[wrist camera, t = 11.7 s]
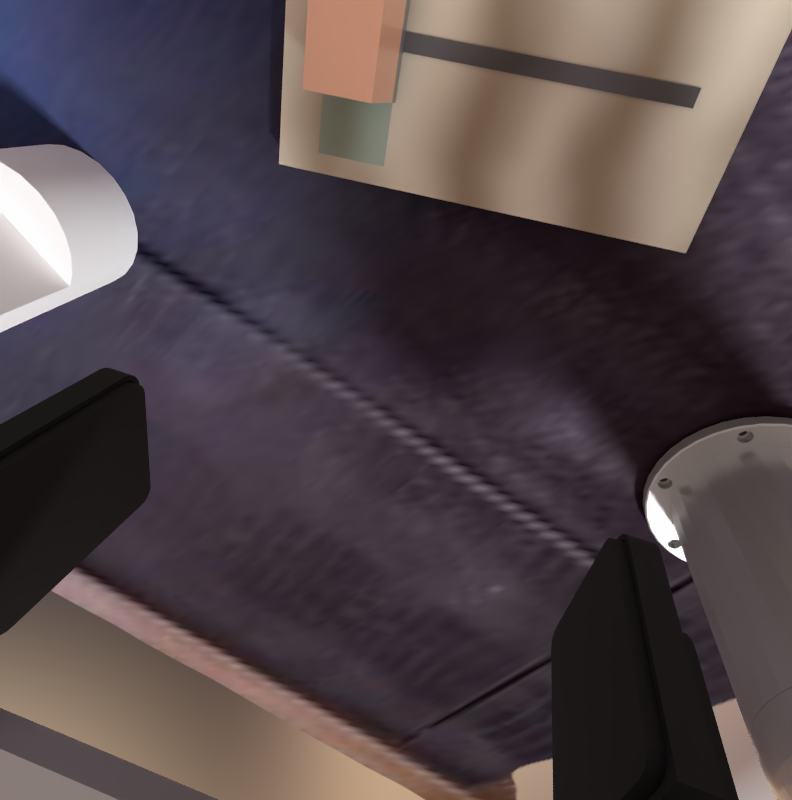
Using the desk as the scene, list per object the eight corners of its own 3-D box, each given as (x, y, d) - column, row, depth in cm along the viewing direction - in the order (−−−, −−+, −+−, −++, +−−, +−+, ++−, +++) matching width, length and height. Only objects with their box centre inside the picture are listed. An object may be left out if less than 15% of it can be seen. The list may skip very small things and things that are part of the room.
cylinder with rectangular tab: (163, 238, 34) (12, 298, 24) (90, 306, 38) (-66, 381, 28) (58, 111, 31) (-162, 118, 21) (-9, 198, 35) (-222, 239, 25)
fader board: (819, -71, 21) (846, -87, 19) (675, 243, 28) (686, 253, 26) (309, -153, 23) (292, -174, 21) (292, 160, 30) (278, 164, 28)
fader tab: (414, -27, 23) (391, -55, 19) (395, 102, 25) (371, 103, 21) (348, -39, 23) (311, -69, 19) (337, 90, 25) (302, 89, 21)
